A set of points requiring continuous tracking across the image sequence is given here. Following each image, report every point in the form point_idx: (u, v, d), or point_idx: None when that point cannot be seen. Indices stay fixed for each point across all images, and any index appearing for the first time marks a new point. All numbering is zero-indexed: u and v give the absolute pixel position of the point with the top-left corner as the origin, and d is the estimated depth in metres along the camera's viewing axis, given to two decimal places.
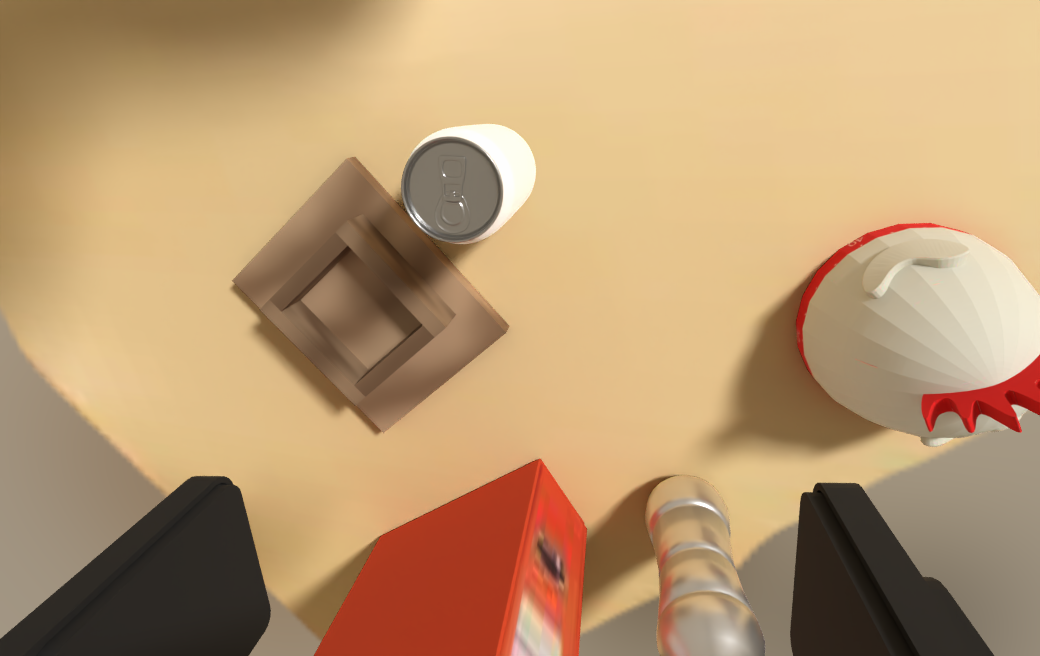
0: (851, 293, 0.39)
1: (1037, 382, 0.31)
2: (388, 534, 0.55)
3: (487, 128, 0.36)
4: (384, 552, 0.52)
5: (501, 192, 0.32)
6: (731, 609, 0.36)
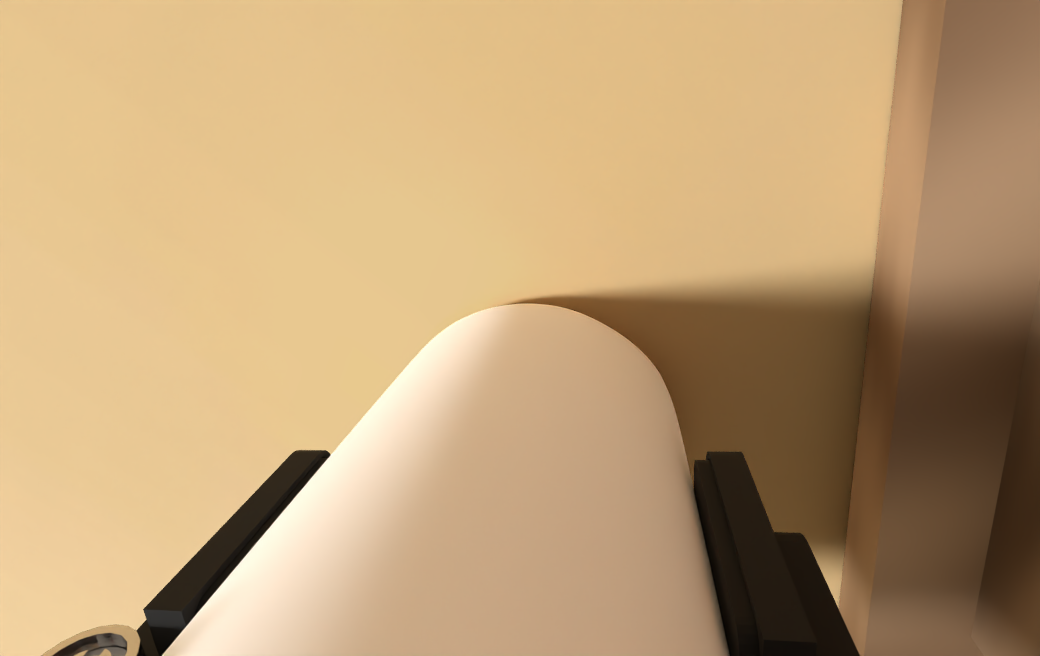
0: None
1: None
2: None
3: None
4: None
5: None
6: None
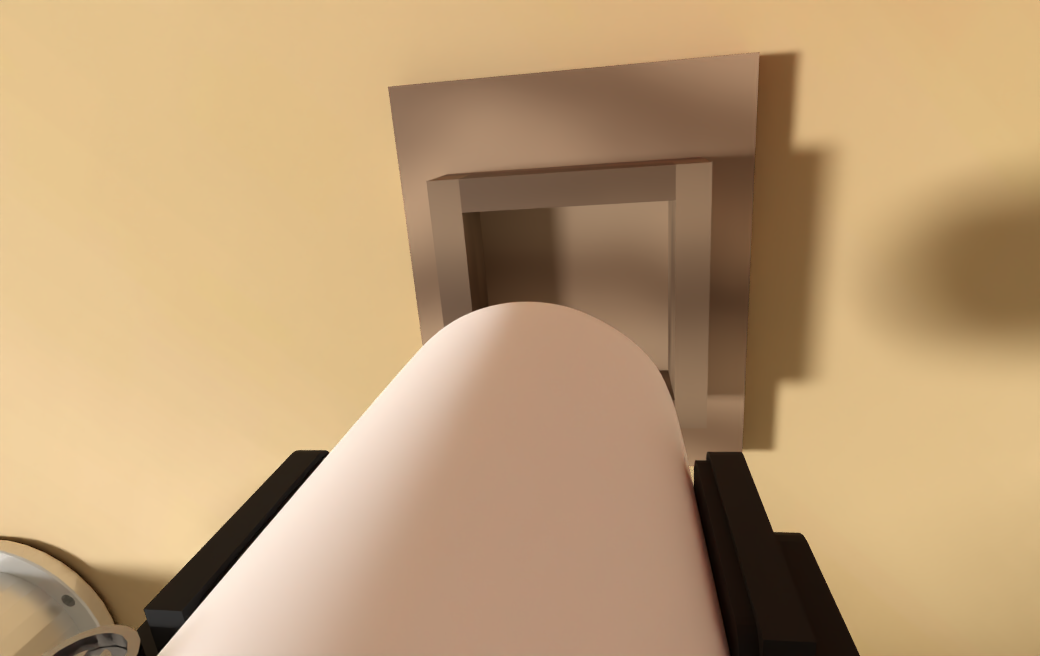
0: None
1: None
2: None
3: None
4: None
5: None
6: None
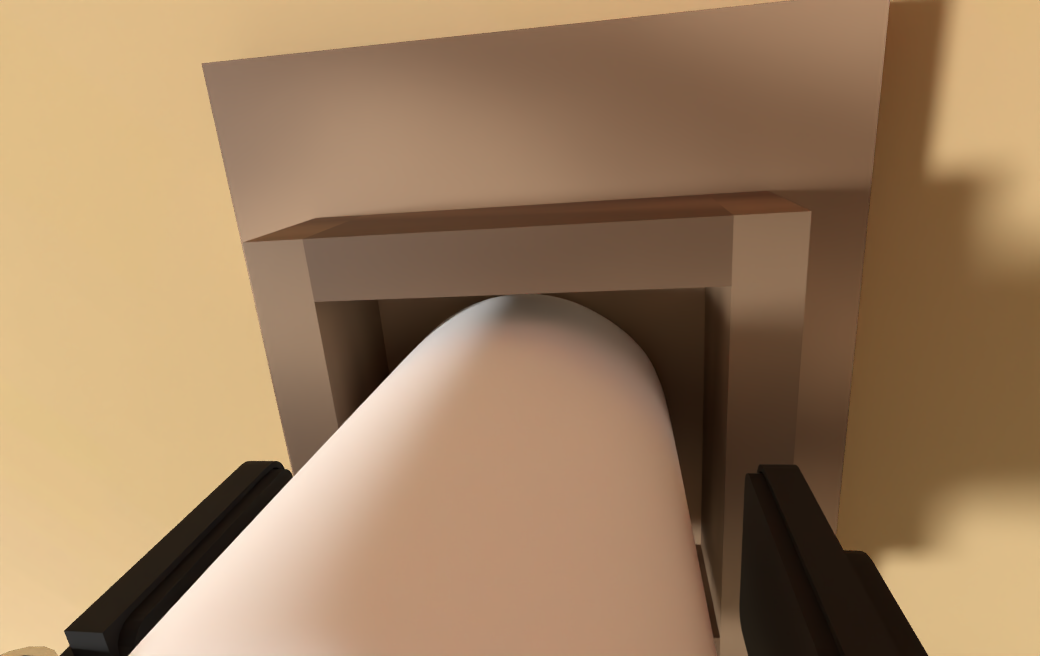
0: None
1: None
2: None
3: None
4: None
5: None
6: None
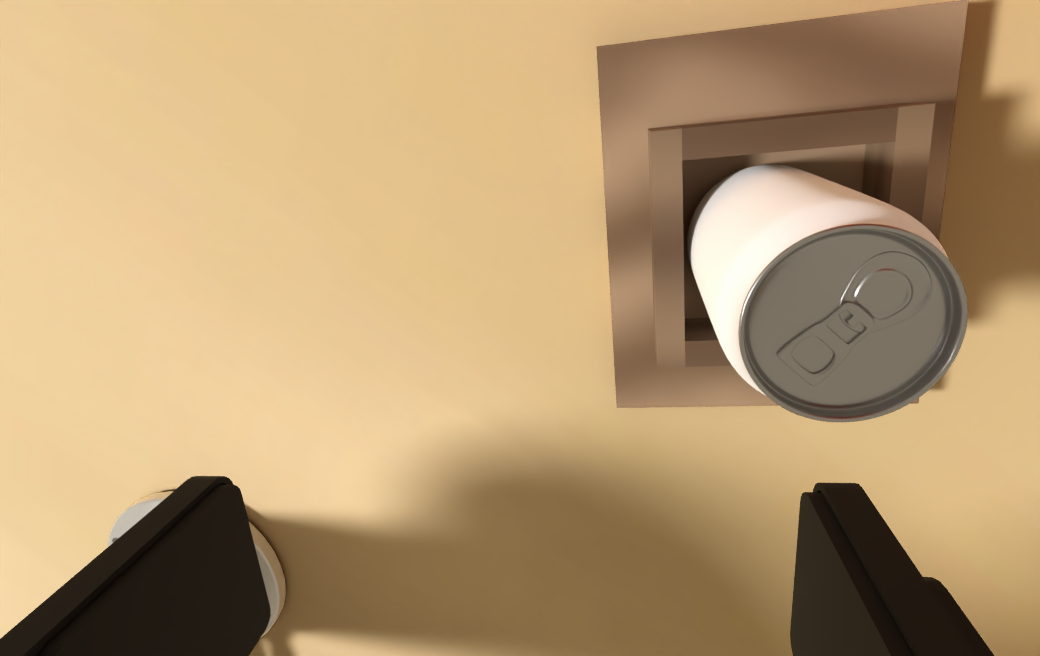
0: None
1: None
2: None
3: None
4: None
5: (772, 265, 0.16)
6: None
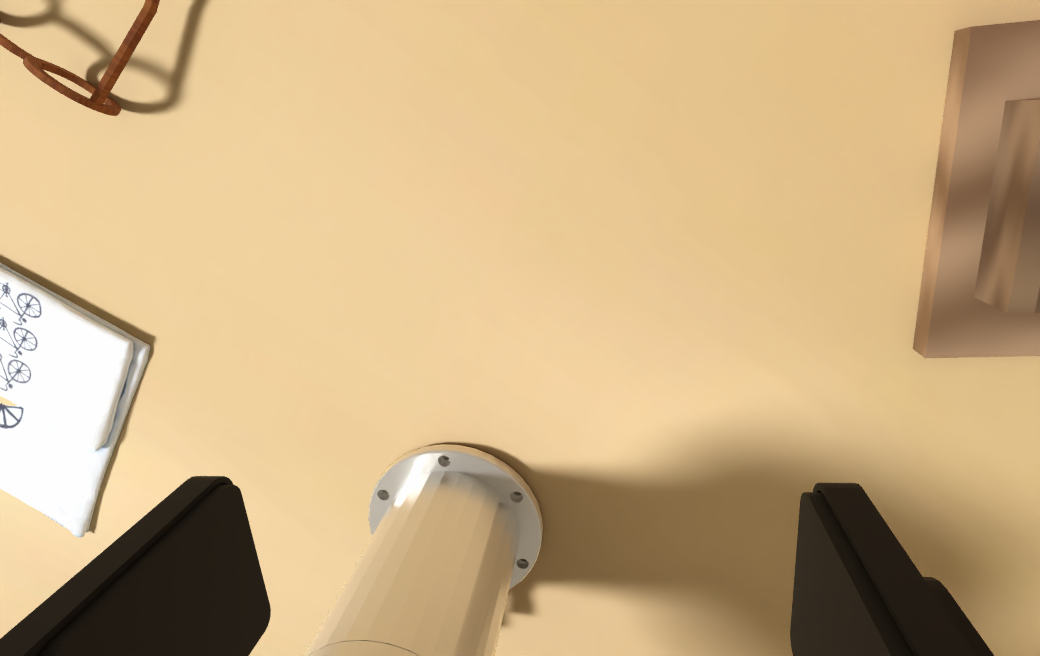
0: None
1: None
2: None
3: None
4: None
5: None
6: None
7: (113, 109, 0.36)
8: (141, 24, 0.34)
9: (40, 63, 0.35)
